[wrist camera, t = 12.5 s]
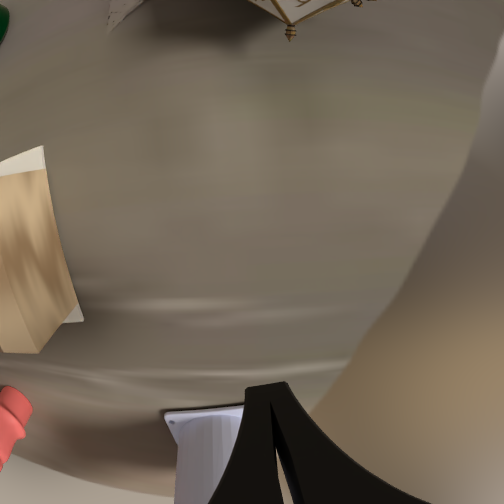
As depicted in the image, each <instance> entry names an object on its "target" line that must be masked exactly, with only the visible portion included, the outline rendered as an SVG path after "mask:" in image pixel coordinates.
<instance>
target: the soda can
mask: <svg viewBox="0 0 504 504" xmlns="http://www.w3.org/2000/svg"><path fill="white" fill-rule="evenodd" d="M8 26H9V11H8V9H7V8H6V7H5V6H3V5H1V4H0V44H1V42H2V40H3V39H4V37H5V35H6V32H7V29H8Z"/></svg>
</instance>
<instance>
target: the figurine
mask: <svg viewBox="0 0 504 504" xmlns="http://www.w3.org/2000/svg"><path fill="white" fill-rule="evenodd" d="M32 412H33V408H32V406H31V404H30V402H29V401H28V399H27V398H26V397H25V396H24V395H23V394H22V393H21V392H19V391H18V390H16V389H15V388H13V387H10V386H5V387H4V388H3V389H2V390H1V392H0V472H1V470H2V467H3V464H4V463H5V462H6V461H7V460H8V459H9V457H10V454H11V451H12V448H13V446H14V444H15V442H16V441H17V440H18V439H23V438H24V437H25V435H26V433H25V430H24V427H25V425H26V423H27V421H28V419H29V418H30V416H31V414H32Z"/></svg>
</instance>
